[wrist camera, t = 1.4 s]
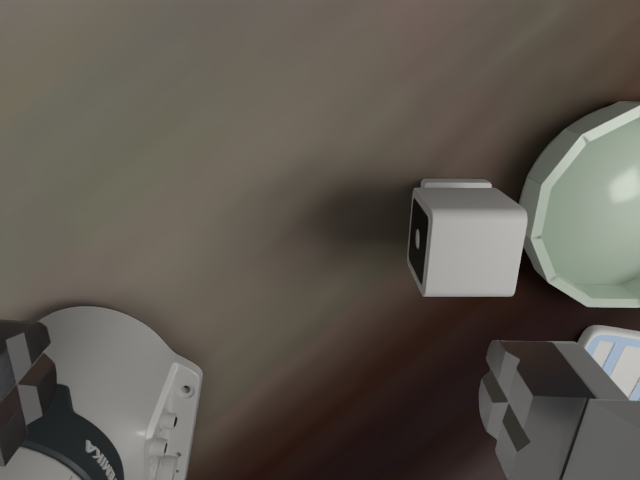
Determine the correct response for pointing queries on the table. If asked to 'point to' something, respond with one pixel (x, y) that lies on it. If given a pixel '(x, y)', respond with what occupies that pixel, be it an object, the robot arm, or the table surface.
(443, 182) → the security camera
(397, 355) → the table surface
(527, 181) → the faceted green bowl
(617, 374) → the calculator
